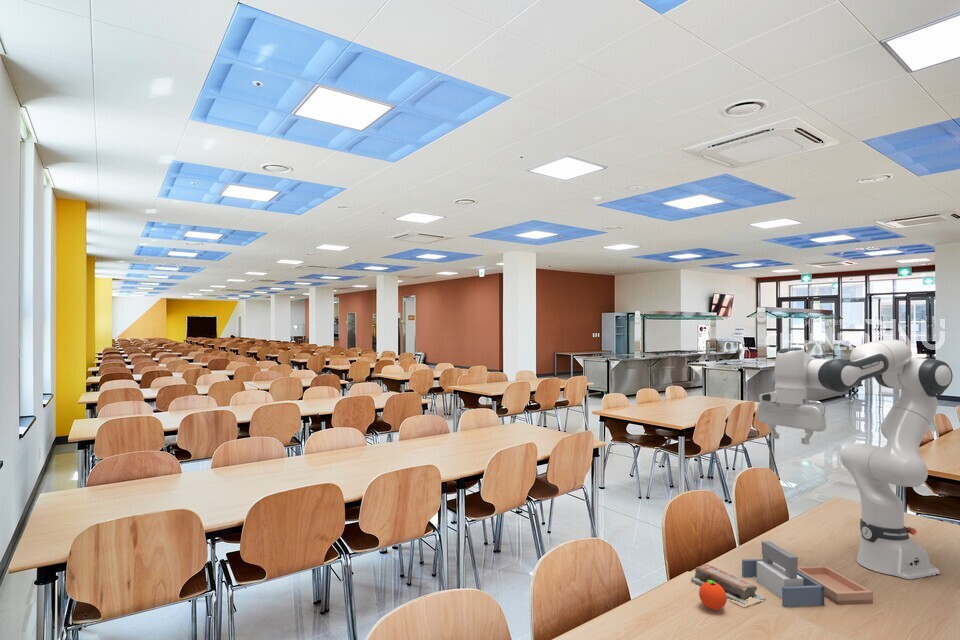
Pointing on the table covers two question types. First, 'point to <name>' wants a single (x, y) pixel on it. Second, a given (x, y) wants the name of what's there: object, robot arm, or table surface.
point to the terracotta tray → (838, 586)
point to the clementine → (712, 595)
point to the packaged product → (726, 583)
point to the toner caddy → (777, 569)
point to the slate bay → (791, 588)
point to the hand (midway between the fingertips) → (790, 441)
